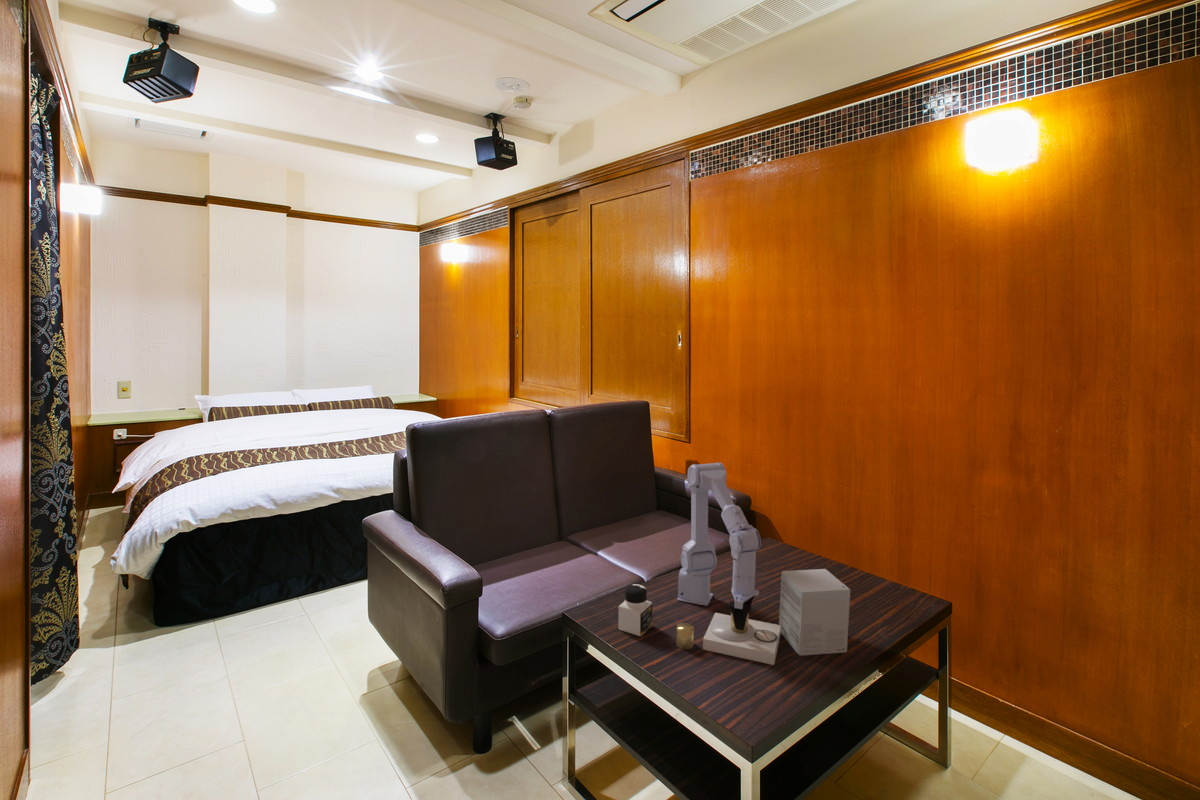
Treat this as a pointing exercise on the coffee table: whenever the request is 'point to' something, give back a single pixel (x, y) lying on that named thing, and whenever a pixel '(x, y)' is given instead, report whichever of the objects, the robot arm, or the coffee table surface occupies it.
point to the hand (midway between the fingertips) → (742, 622)
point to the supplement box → (814, 611)
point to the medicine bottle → (635, 611)
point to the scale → (743, 639)
